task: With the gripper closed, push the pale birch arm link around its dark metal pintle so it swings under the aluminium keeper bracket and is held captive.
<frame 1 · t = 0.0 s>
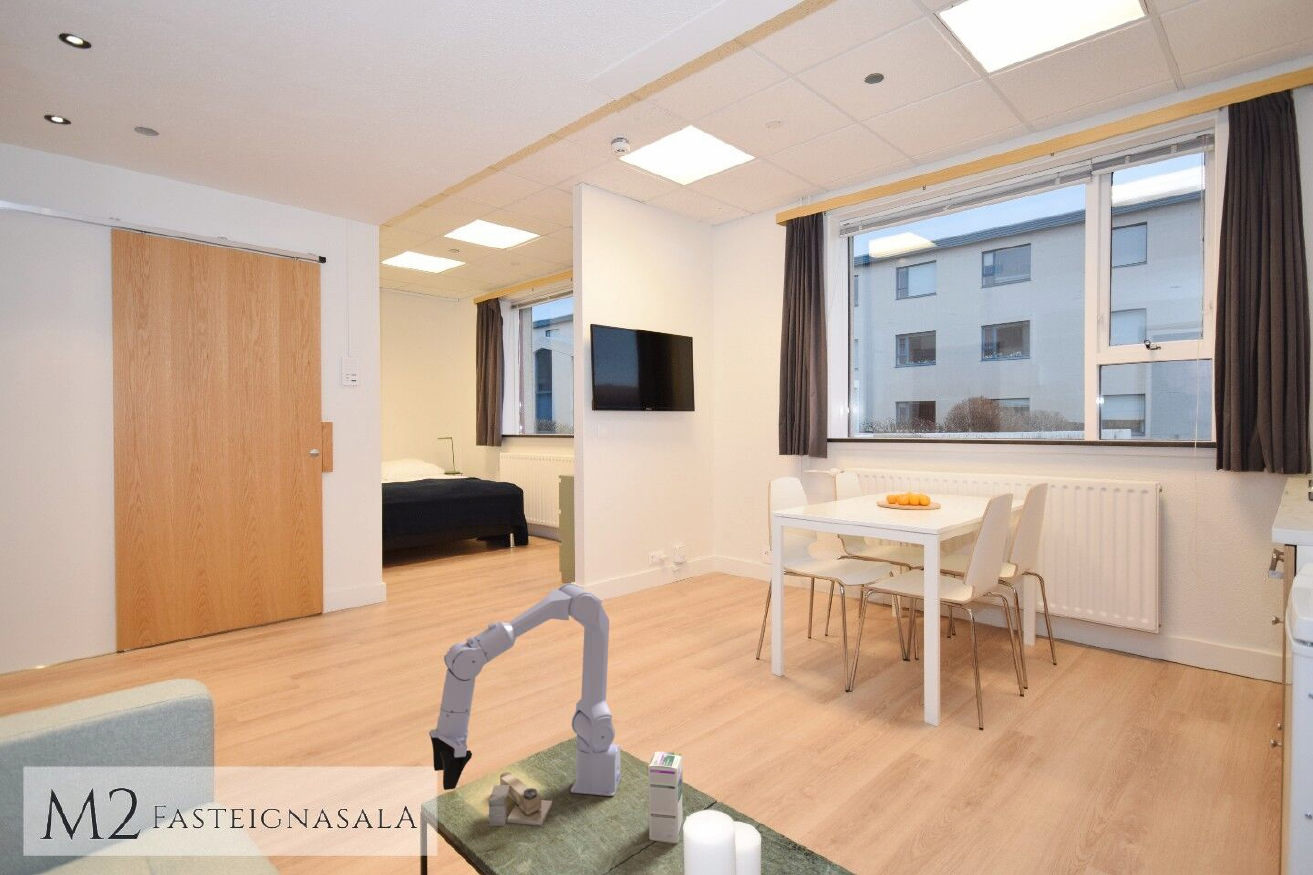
hand: (444, 778, 125), 11 cm above the table, tool pointing down, fingers open, 7 cm apart
syrup box: (665, 833, 125), on the table
pintle base: (530, 813, 131), on the table
link: (518, 791, 135), point 2 cm above the table, hinge at -40.0°
keeper: (497, 822, 128), on the table
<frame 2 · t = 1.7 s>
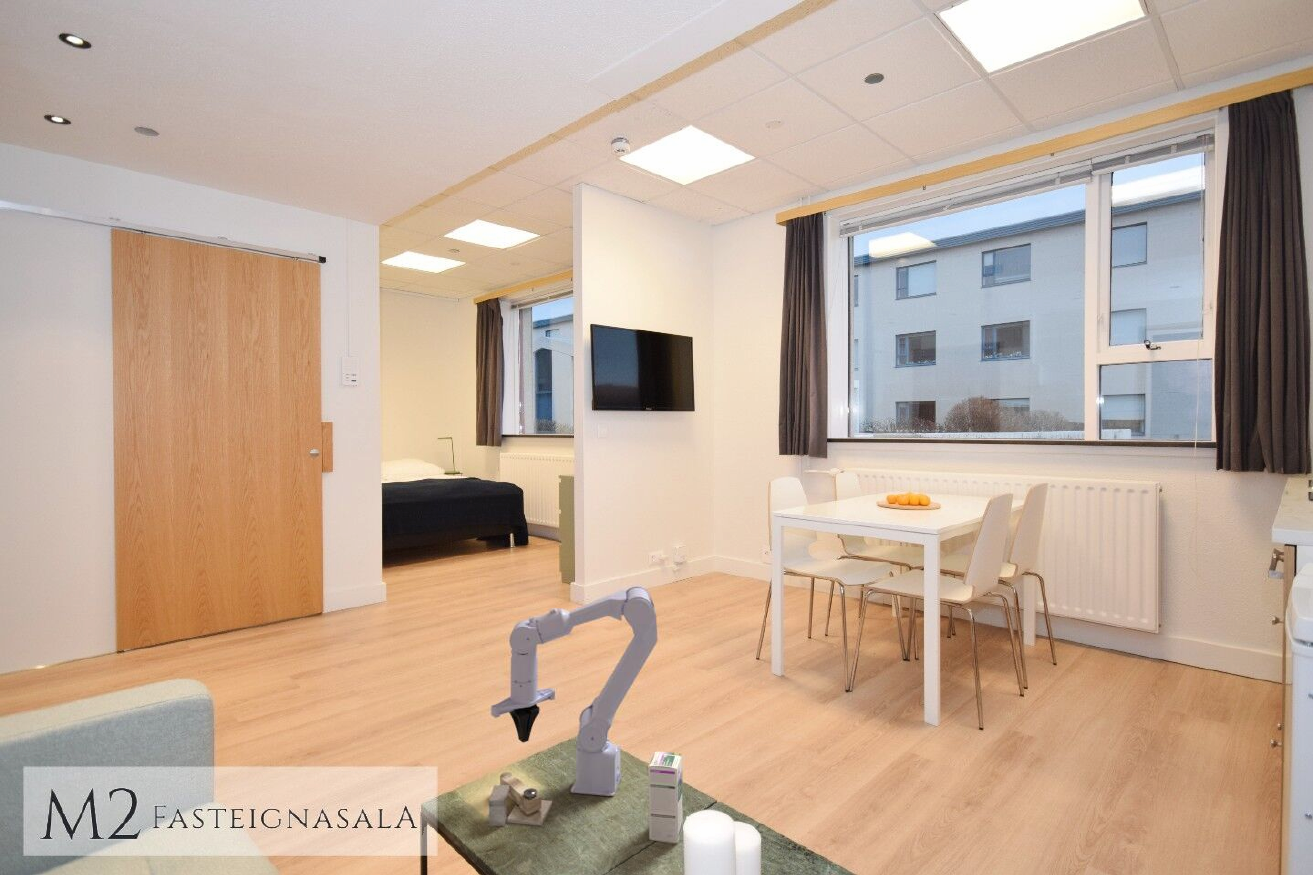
hand: (523, 739, 140), 10 cm above the table, tool pointing down, fingers closed
nothing on the table moved.
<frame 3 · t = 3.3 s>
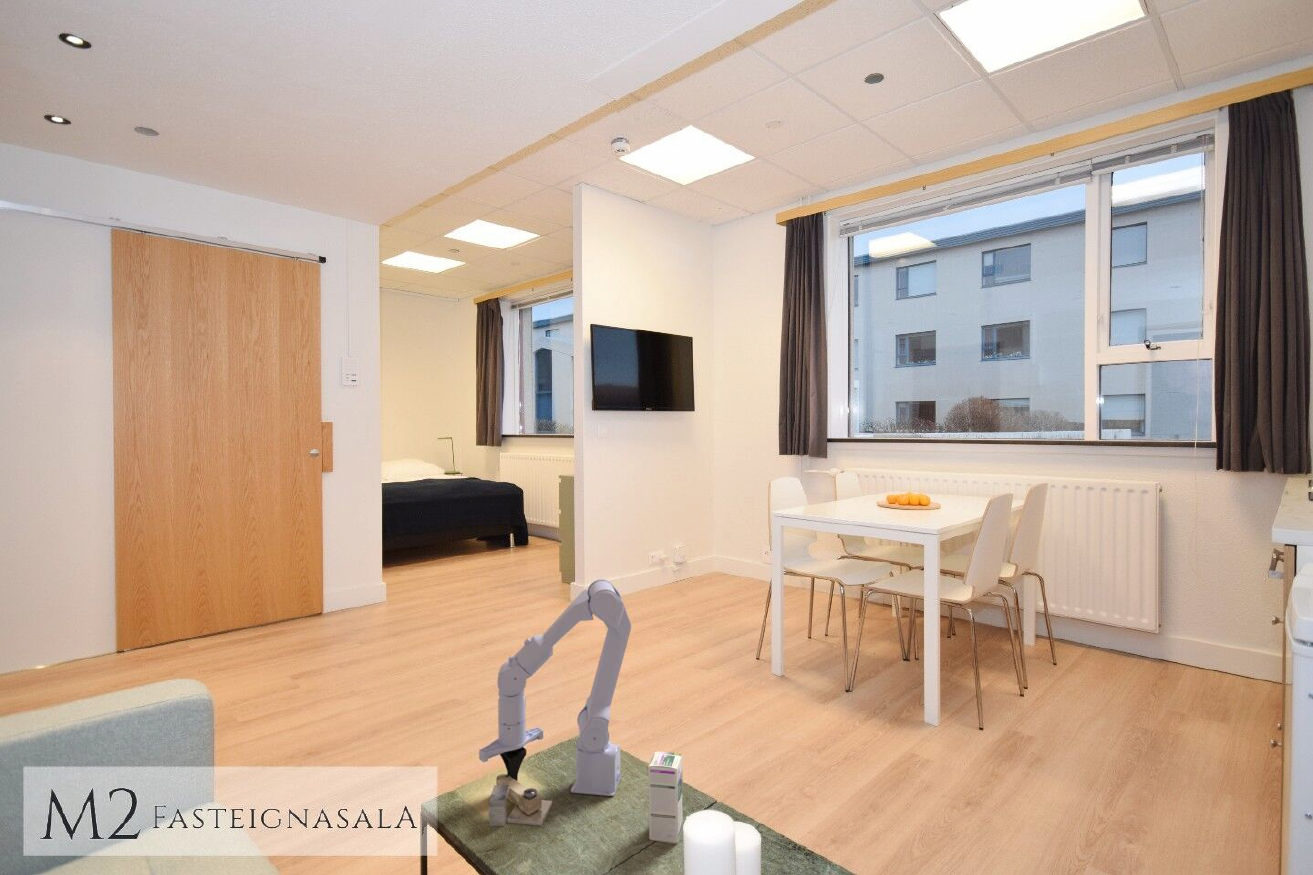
hand: (512, 781, 139), 2 cm above the table, tool pointing down, fingers closed, pressing on link
link: (516, 792, 134), point 2 cm above the table, hinge at -34.6°, touching gripper
everything else where it was.
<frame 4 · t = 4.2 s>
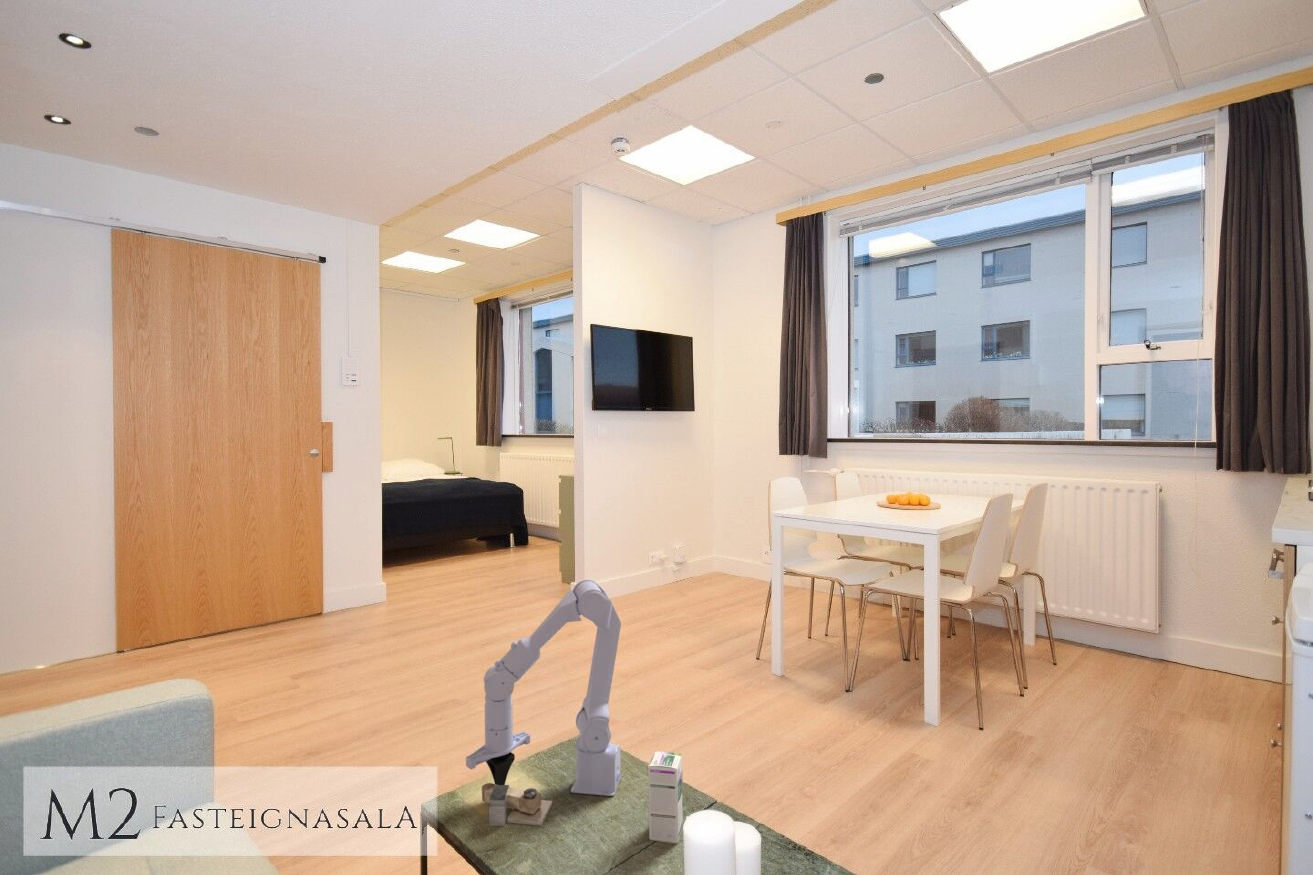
hand: (499, 788, 136), 2 cm above the table, tool pointing down, fingers closed, pressing on link
link: (509, 797, 133), point 2 cm above the table, hinge at -10.9°, touching gripper
everything else where it was.
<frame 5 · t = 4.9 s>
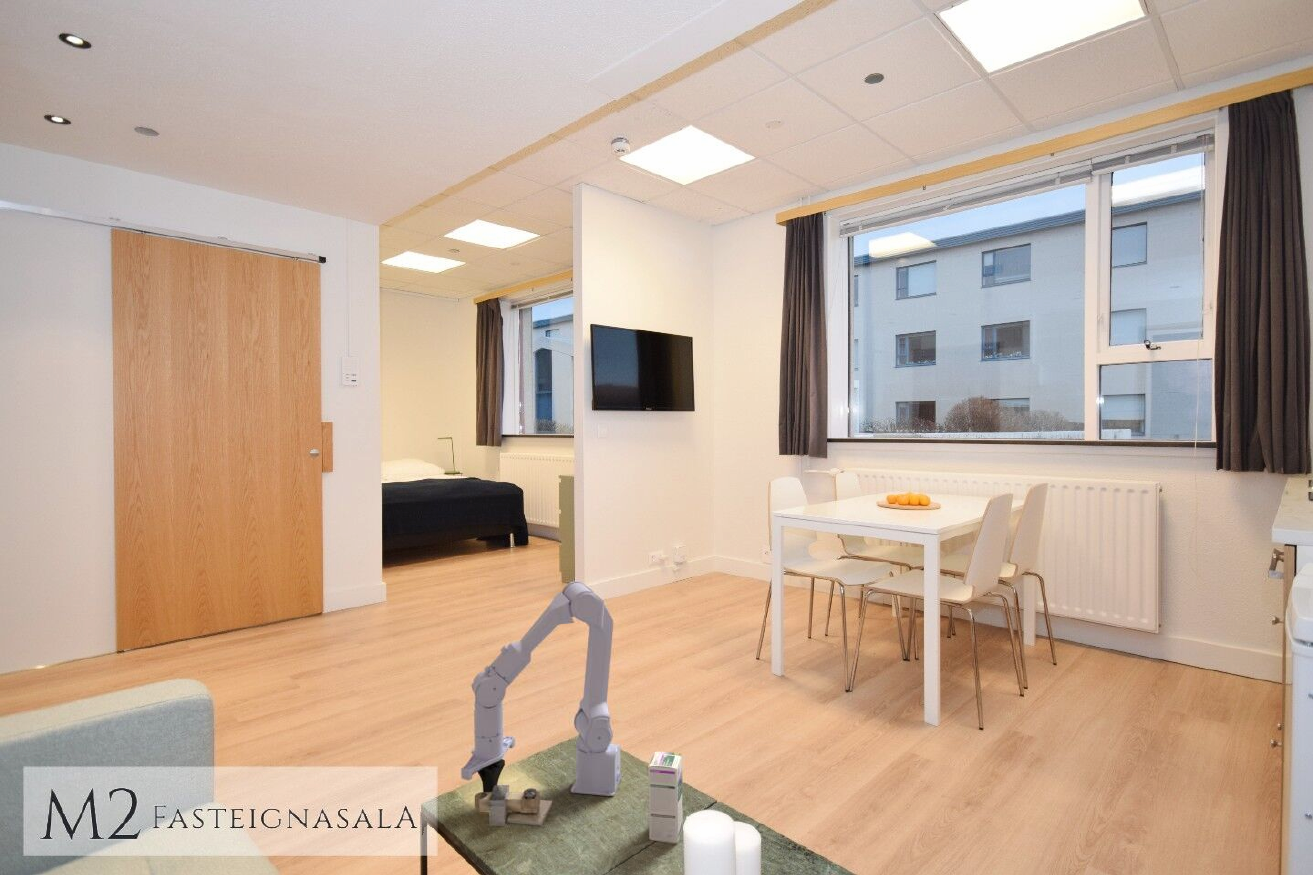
hand: (489, 796, 133), 2 cm above the table, tool pointing down, fingers closed, pressing on keeper, link
link: (506, 801, 131), point 2 cm above the table, hinge at 8.2°, touching gripper
everything else where it was.
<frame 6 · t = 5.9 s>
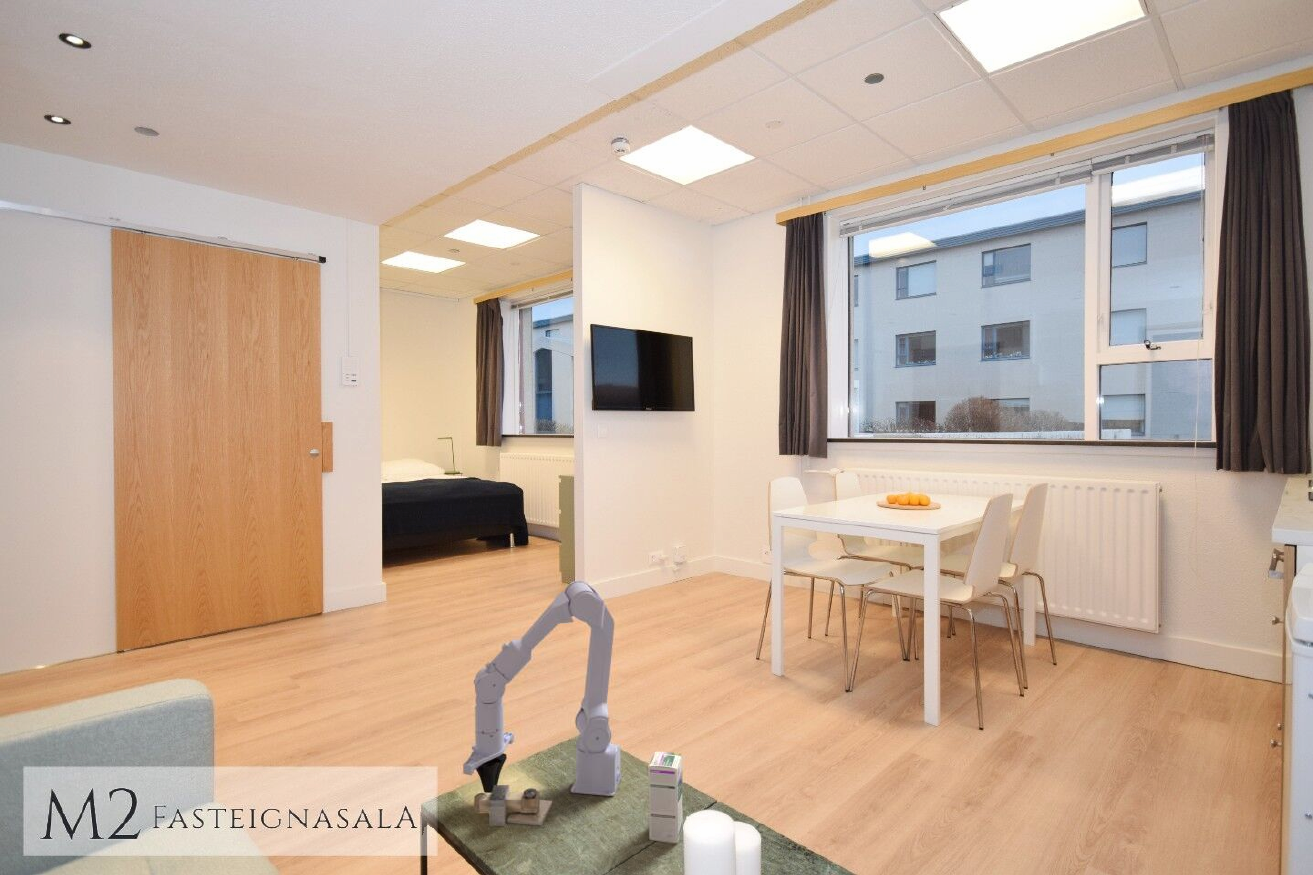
hand: (489, 791, 135), 2 cm above the table, tool pointing down, fingers closed
link: (506, 802, 131), point 2 cm above the table, hinge at 9.7°
everything else where it was.
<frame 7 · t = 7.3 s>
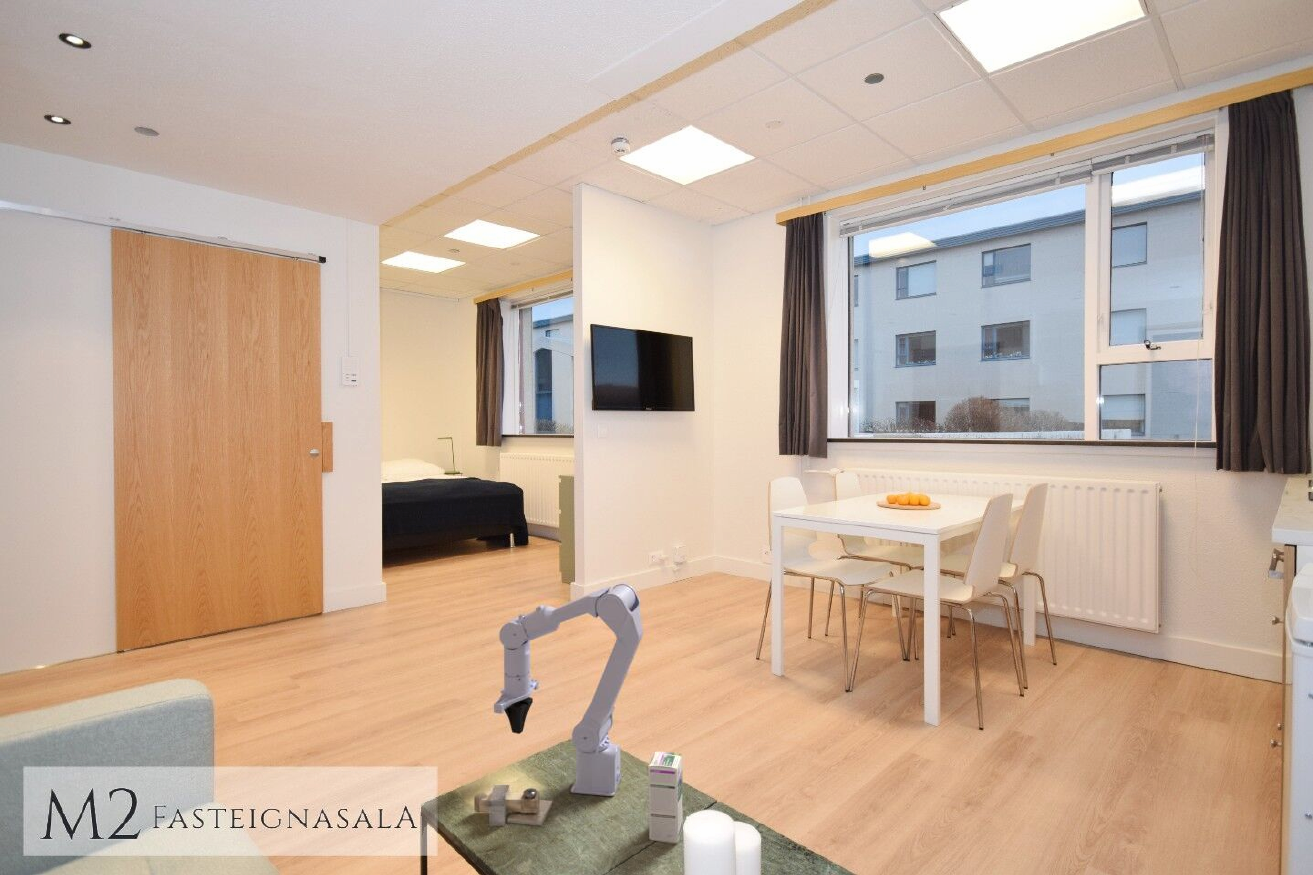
hand: (517, 731, 146), 9 cm above the table, tool pointing down, fingers closed
nothing on the table moved.
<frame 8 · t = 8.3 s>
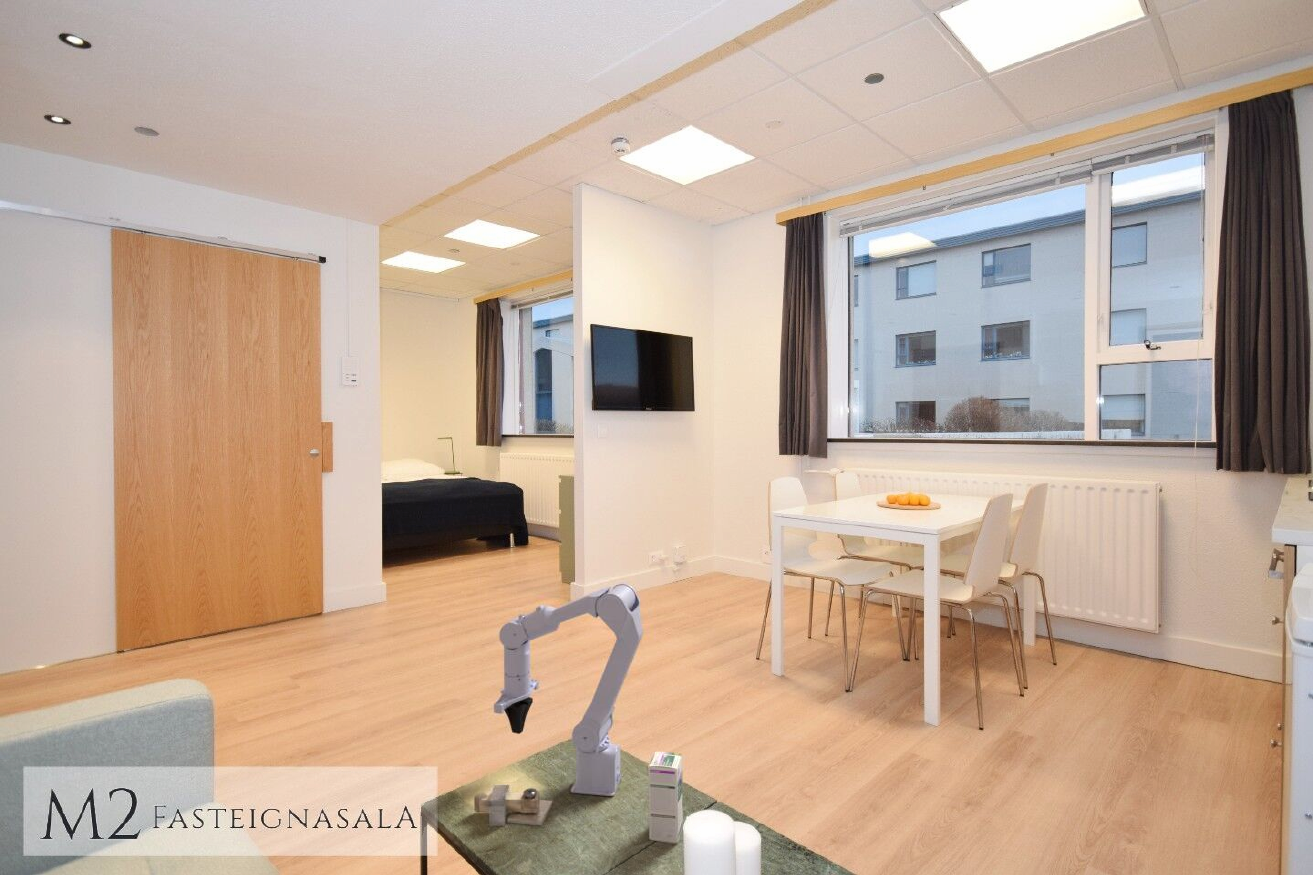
hand: (517, 731, 146), 9 cm above the table, tool pointing down, fingers closed
nothing on the table moved.
at the end: link at +10° (first picture: -40°); syrup box moved 0.2 cm from its start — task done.
